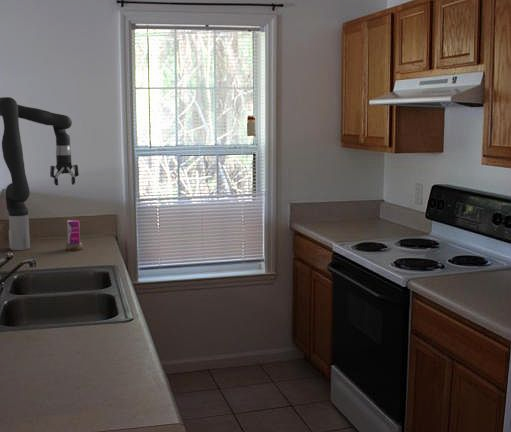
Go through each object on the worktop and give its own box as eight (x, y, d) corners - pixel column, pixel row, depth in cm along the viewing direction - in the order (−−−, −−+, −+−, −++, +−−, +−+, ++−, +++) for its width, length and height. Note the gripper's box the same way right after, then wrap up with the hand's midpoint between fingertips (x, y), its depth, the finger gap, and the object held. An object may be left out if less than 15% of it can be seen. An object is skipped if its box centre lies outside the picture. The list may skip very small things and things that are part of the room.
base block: (69, 251, 334) (68, 245, 333) (63, 249, 340) (63, 243, 340) (84, 250, 338) (84, 244, 338) (79, 247, 345) (79, 241, 344)
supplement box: (67, 244, 336) (66, 222, 334) (68, 242, 341) (67, 220, 340) (79, 244, 337) (78, 221, 335) (80, 242, 343) (79, 219, 341)
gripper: (52, 155, 346) (53, 186, 349) (79, 154, 354) (80, 184, 357) (47, 154, 352) (49, 185, 355) (74, 153, 360) (75, 183, 363)
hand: (65, 185), depth 356 cm, fingers open, 8 cm apart
